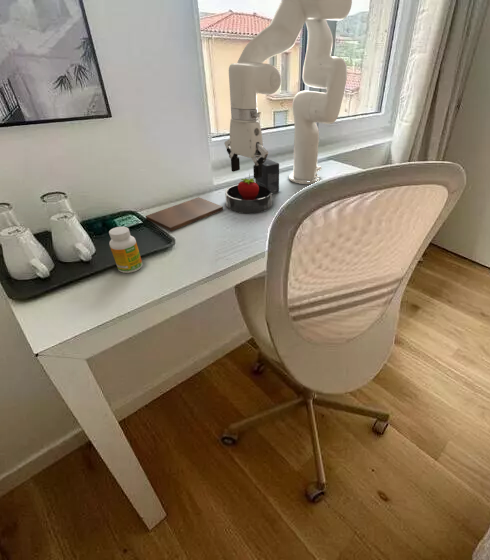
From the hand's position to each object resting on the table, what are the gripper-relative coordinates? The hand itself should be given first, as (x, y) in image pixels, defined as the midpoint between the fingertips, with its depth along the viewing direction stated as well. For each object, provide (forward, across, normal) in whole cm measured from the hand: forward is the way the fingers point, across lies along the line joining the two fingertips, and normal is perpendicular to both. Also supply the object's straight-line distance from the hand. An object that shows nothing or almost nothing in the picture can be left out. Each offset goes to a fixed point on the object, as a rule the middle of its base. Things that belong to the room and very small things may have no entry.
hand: (246, 174), depth 102 cm
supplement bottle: (+12, -5, +45) cm, 47 cm away
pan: (+10, 0, -1) cm, 10 cm away
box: (+10, +4, -15) cm, 18 cm away
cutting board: (+11, +9, +18) cm, 23 cm away
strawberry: (+10, 0, -1) cm, 10 cm away
